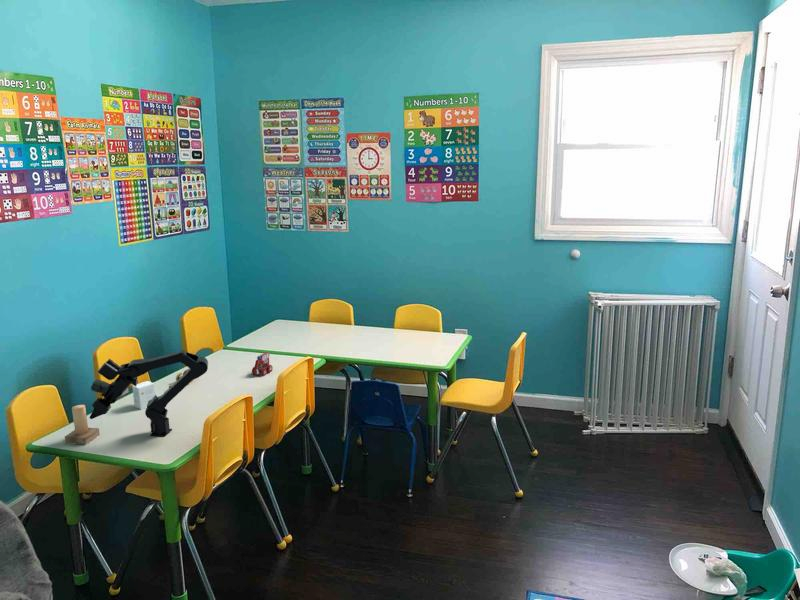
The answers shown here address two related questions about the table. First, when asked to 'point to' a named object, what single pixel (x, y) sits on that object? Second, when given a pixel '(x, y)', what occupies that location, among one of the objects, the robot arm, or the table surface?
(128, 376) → the robot arm
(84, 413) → the cylinder block
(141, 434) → the table surface
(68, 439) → the base slab
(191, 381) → the kendama
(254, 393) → the table surface
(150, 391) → the small box
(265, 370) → the toy fire truck
